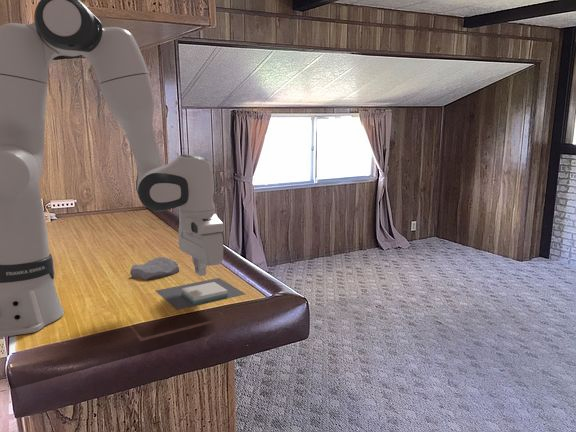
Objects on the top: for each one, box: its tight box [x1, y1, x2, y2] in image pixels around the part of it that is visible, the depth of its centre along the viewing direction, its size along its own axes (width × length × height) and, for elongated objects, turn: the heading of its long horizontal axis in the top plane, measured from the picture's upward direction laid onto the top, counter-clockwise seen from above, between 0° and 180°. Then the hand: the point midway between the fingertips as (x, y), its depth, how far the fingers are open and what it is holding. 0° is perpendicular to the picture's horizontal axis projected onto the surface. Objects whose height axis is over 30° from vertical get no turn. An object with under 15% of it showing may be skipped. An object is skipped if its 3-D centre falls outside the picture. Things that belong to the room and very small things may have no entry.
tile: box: [181, 282, 228, 304], centre depth 118 cm, size 9×2×8 cm
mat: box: [155, 277, 246, 311], centre depth 121 cm, size 18×16×1 cm
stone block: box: [129, 256, 180, 280], centre depth 138 cm, size 12×5×10 cm
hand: (200, 274), depth 119 cm, fingers closed
